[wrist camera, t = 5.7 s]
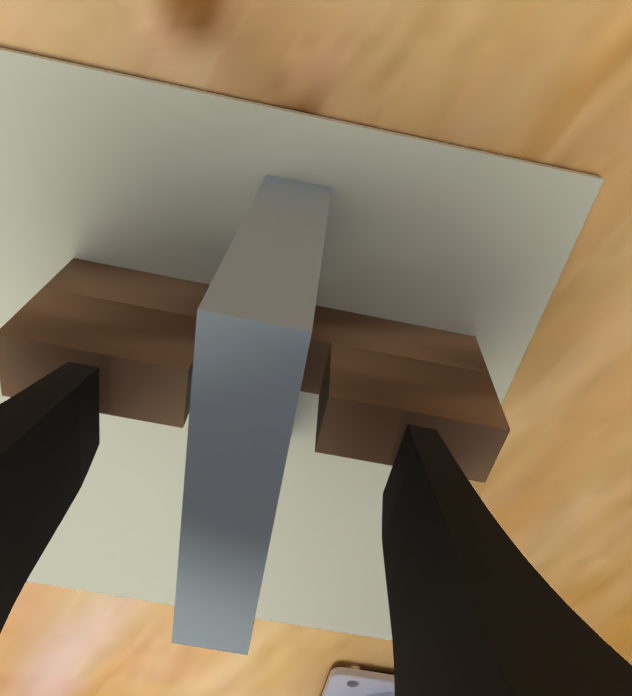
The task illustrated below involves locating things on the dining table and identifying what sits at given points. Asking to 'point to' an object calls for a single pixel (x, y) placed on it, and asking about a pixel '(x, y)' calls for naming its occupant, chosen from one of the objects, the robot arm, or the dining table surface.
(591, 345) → the dining table surface
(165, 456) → the felt mat
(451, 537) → the robot arm
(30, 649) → the dining table surface
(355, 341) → the walnut slotted plate
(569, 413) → the dining table surface
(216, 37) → the dining table surface
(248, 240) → the grey flat block
